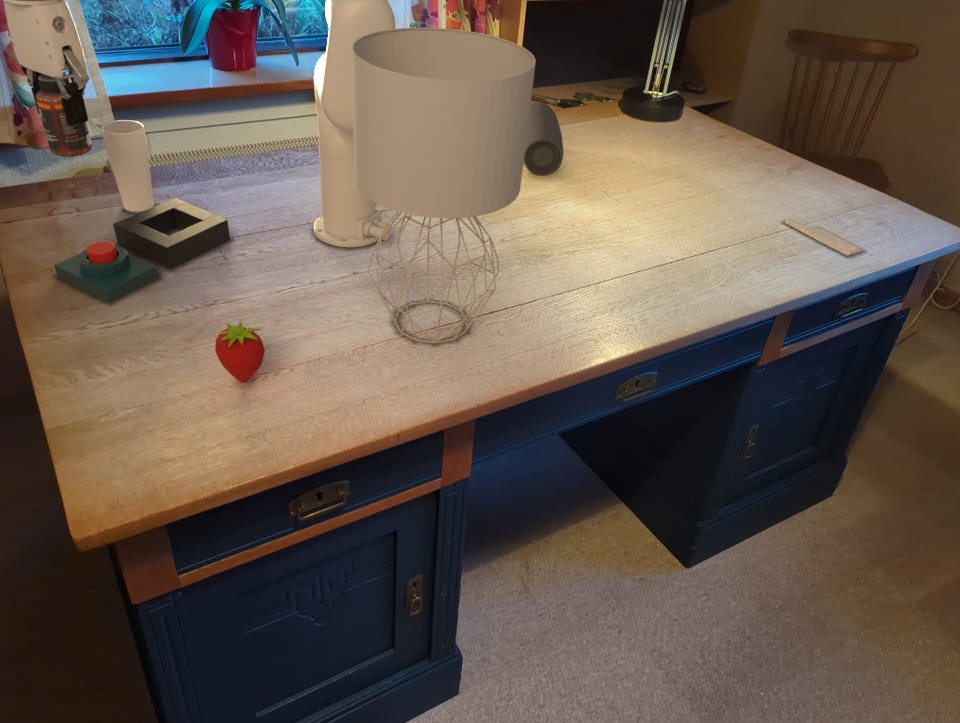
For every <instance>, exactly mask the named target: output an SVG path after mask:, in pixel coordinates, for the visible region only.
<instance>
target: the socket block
mask: <svg viewBox="0 0 960 723" xmlns="http://www.w3.org/2000/svg"><path fill="white" fill-rule="evenodd" d="M112 225H113V230H114V233H115V238H116V243H117V246H120V247H122V248H124V249H126V250H128V251H130V252H132V253H135V254H136V255H138V256H141V257H143V258H146V259H148V260H149V261H151V262H154V263H156V264H159V265H160V266H162V267H164V268H167V269H170V270H173V269H175V268H177V267H178V266H181V265H183V264H185V263H187V262H189V261H191V260H193V259H196V258H197V257H199V256H201V255H203V254H205V253H208V252H209V251H211V250H213V249H215V248H217V247H219V246H221V245H223V244H226V243H228V242H229V241H231V236H230V228H229V220H228V219H227V218H224V217H222V216H220V215H217V214H214V213H212V212H210V211H207V210H205V209H202V208H200V207H198V206H195V205H193V204H190V203H188V202H186V201H183V200H180V199H178V198H176V197H175V198H172V199H170V200H167V201H164V202H163V203H160V204H158V205H155V206H153V207H152V208H150V209H148V210H145V211H143V212H137V213H135V214H134V215H131V216H128V217H126V218H124V219H121V220H119V221H116V222H114V223H113V224H112ZM175 230H179V231H177V232H174V233H173V234H171V235H167V234H168V233H170V232H172V231H175Z"/></svg>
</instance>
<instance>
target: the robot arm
mask: <svg viewBox="0 0 960 723" xmlns="http://www.w3.org/2000/svg"><path fill="white" fill-rule="evenodd" d="M2 1H3V6H4V12H5V17H6V23H7V28H8V33H9V36H10V40H11V45H12V47H13V53H12V54H13V58H14V59H15V61H16V62H17V63H18V65H19V66H20V68H21V71H22V72H23V74H24V75H25V77H26V81H27V85H28V86H29V87H30V90H31V92H32V95H33V96H32V97H33V101H34V104H35V108H36V111H37V113H38V114H39V115H40V112H39V108H38V104H37V101H36V94H37V92H38V91H39V90H40V88H41V87H40V86H39V81H38V77H39V76H40V75H42V74H44V75H47V76H50V77H53V78H55V80H56V82H57V84H58V86H59V88H60V91H61V93H62V95H63V97H64V98H61V102H62V106H63V110H64V114H65V118H66V122H67V124H68V125H70V126H73V125H77V124H80V123H84V122H86V123H87V122H88V121H89V116H88V112H87V107H86V104H85V100H84V96H85V89H86V87H87V84H88V82H89V81H90V76H89V74H88V73H87V70H88V67H87V61H86V57H85V53H84V49H83V46H82V43H81V39H80V36H79V33H78V29H77V27H76V24H75V20H74V18H73V15H72V12H71V10H70V7H69V5H68V3H67V2H66V0H2ZM324 10H325V12H324V13H325V18H326V23H327V26H328V36H327V45H326V50H325V52H324V53H323V54H321V57H320V58H319V59H318V61H317V62H316V65H315V69H314V74H313V86H314V87H313V88H314V99H315V109H316V122H317V138H318V140H317V141H318V164H319V182H320V183H319V184H320V185H319V186H320V202H321V203H320V204H321V216H320V217H318V218H317V219H315V221H314V223H313V233H314V235H315V236H316V238H317V239H318V240H320V241H321V242H323V243H325V244H328V245H331V246H335V247H339V248H360V247H366V246H369V245H372V244H374V243H377V242H378V240H379V238H380V236H381V234H382V232H383V230H384V228H385V226H386V224H387V223H388V222H386V221H383V220H382V211H381V210H379V209H377V203H375V202H373V201H371V200H370V199H368V198H367V197H366V196H364V195H363V194H362V193H361V192H360V191H359V189H358V188H357V186H356V184H355V180H354V133H353V82H352V45H353V43H354V42H355V41H356V40H357V39H358V38H360V37H362V36H364V35H367V34H370V33H373V32H378V31H383V30H389V29H396V18H395V14H394V11H393V8H392V6H391V4H390V3H389V0H325V5H324ZM65 71H67V73H64V72H65ZM64 74H66V75H64ZM66 79H69V80H70V81H71V82H70V84H69V86H68V88H67V85H66V83H65V81H64V80H66ZM390 224H391V223H389V224H388V225H387V227H386V229H387V228H388V227H389V226H390ZM392 227H393V225H392V226H391V227H390V228H389V229H388V231H389V230H390V229H391V228H392ZM386 229H385V231H386ZM385 231H384V232H385ZM388 231H387V232H388ZM387 232H386V233H387ZM386 233H385V234H386ZM390 233H391V231H390V232H389V233H388V234H387V235H386V236H385V237H384V238H383V239H382V240H383V241H387V240H388V239H389V238H390ZM385 234H384V235H385ZM384 235H383V236H384ZM382 240H381V241H382Z"/></svg>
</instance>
